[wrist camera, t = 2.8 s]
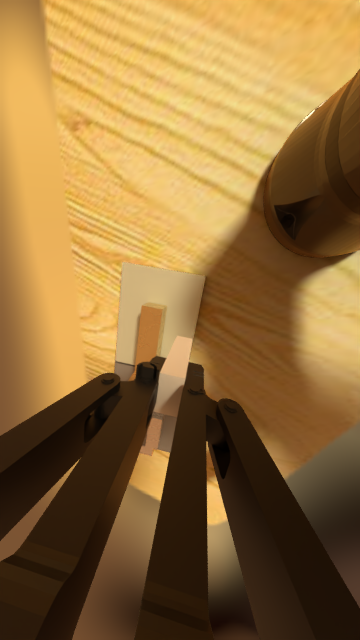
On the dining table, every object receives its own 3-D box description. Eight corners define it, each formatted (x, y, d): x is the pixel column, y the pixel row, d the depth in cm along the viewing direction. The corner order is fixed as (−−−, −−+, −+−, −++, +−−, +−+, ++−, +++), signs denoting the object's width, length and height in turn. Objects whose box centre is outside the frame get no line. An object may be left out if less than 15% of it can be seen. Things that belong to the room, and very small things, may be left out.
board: (205, 276, 25) (205, 275, 24) (172, 446, 33) (171, 452, 32) (126, 262, 26) (122, 261, 25) (113, 430, 34) (109, 436, 33)
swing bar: (158, 382, 28) (150, 400, 24) (137, 377, 29) (126, 394, 24) (170, 306, 25) (162, 312, 21) (146, 301, 25) (134, 306, 21)
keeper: (166, 405, 29) (162, 420, 26) (160, 439, 31) (155, 457, 28) (129, 395, 30) (120, 409, 27) (125, 430, 32) (117, 446, 29)
